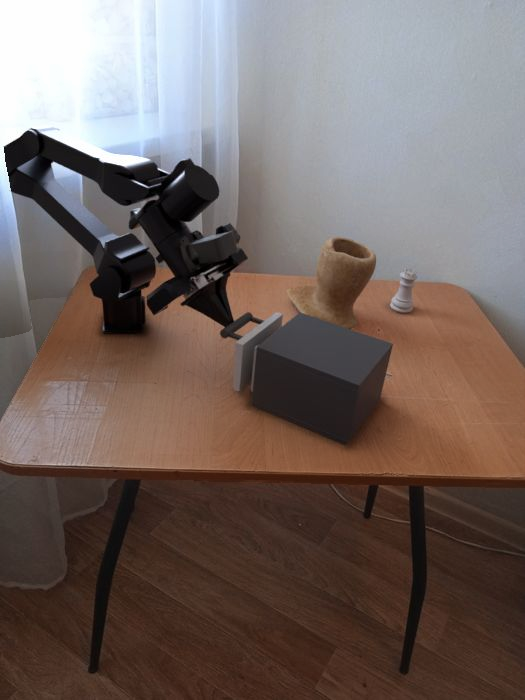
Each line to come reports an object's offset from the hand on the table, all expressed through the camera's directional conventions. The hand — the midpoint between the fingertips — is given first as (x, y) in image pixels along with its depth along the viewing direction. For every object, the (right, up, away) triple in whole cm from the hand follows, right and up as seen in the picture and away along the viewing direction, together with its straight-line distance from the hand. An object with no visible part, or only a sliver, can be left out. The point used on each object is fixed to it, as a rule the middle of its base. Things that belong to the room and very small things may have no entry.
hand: (231, 326), depth 84 cm
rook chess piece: (+32, +4, +27) cm, 42 cm away
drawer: (+7, -8, 0) cm, 11 cm away
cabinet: (+13, -11, -2) cm, 17 cm away
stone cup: (+17, +3, +21) cm, 27 cm away
